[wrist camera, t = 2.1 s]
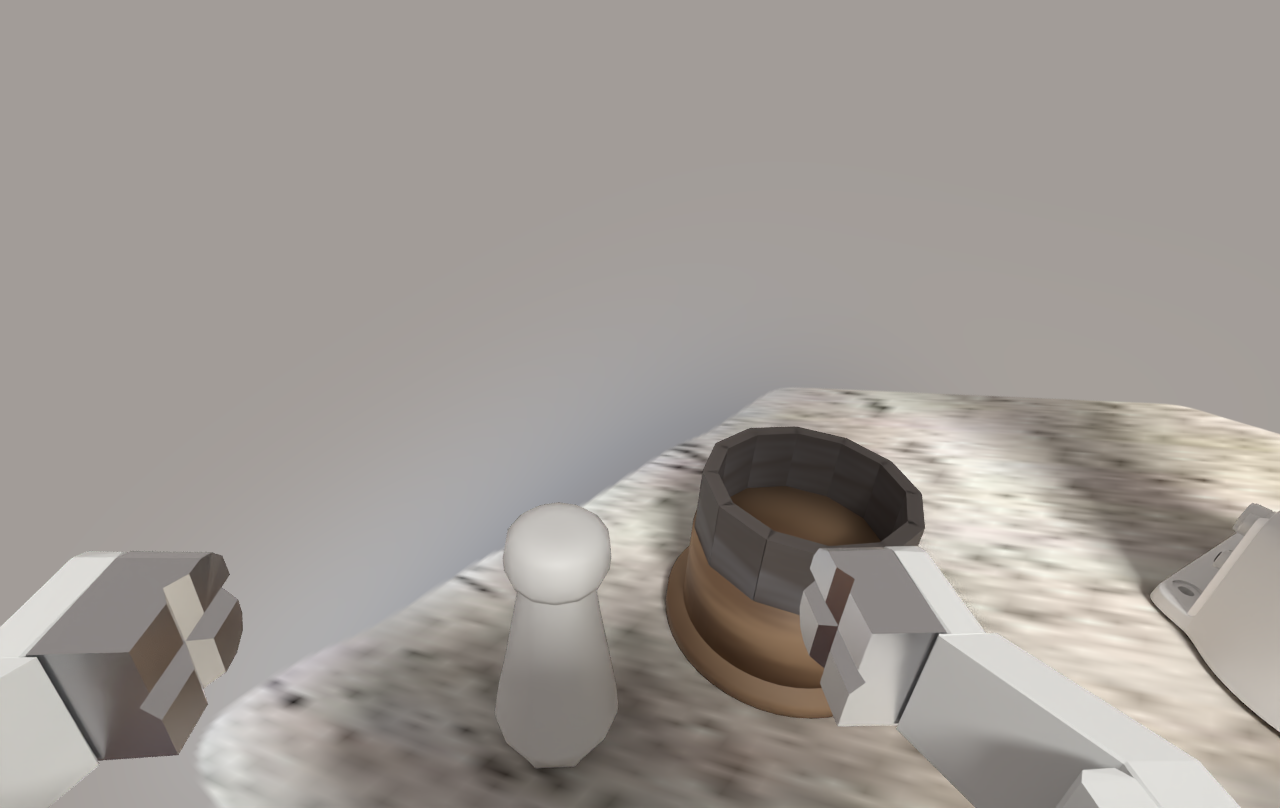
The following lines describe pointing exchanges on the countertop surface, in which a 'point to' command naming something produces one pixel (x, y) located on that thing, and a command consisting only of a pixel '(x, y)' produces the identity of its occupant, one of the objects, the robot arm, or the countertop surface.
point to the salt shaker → (556, 637)
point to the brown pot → (777, 556)
